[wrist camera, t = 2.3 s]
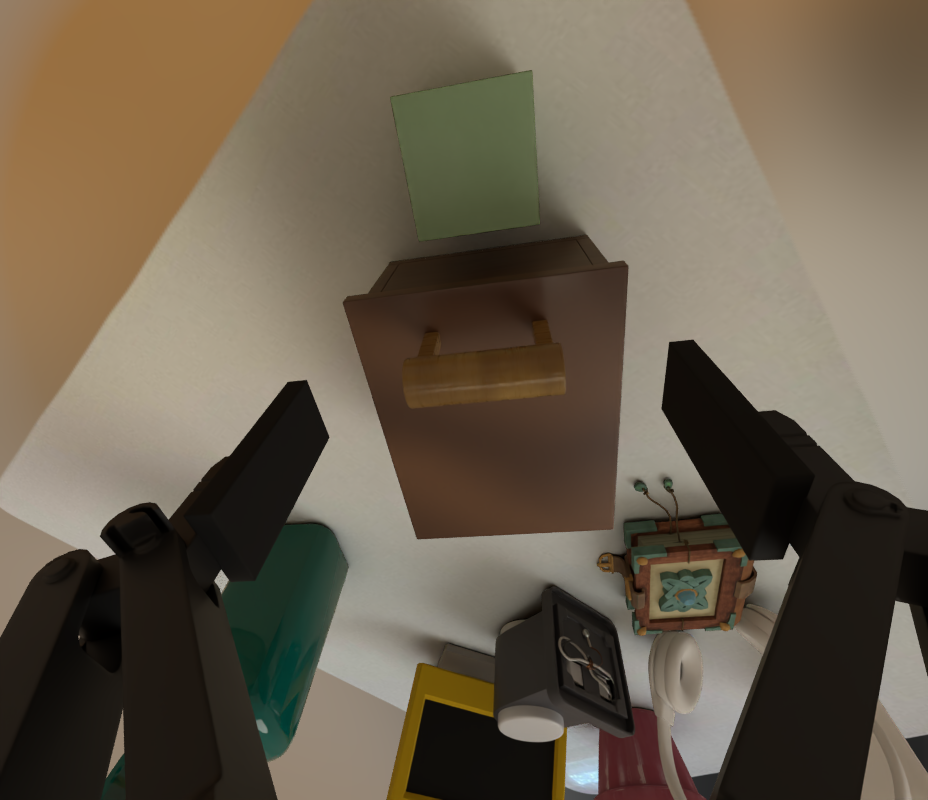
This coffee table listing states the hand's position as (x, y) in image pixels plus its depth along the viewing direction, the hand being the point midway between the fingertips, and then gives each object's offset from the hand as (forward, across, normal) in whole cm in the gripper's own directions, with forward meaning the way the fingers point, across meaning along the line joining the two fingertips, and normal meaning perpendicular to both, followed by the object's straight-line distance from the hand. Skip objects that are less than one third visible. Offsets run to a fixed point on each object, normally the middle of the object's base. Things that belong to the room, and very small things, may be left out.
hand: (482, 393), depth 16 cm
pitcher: (+15, -23, -26) cm, 38 cm away
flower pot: (+15, +13, -68) cm, 71 cm away
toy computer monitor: (+15, -7, -52) cm, 54 cm away
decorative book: (+15, +14, -28) cm, 35 cm away
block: (+15, 0, +7) cm, 16 cm away
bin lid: (+6, 0, -6) cm, 8 cm away
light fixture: (+15, +2, -42) cm, 44 cm away
